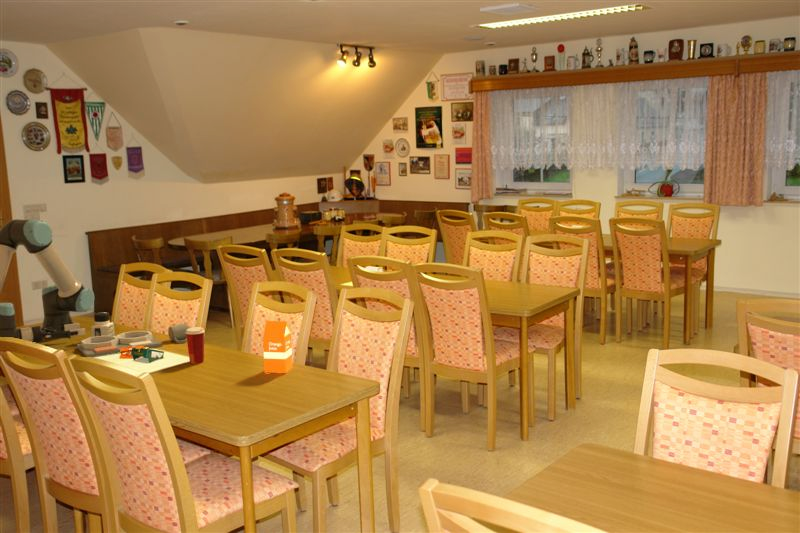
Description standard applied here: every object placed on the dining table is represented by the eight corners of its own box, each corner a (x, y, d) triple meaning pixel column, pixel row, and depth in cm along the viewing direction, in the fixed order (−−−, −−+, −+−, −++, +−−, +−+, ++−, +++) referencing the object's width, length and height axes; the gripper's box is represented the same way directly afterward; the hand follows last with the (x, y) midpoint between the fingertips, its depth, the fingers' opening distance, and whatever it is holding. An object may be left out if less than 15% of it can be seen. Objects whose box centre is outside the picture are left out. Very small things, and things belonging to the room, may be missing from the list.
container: (108, 342, 356) (106, 314, 354) (92, 342, 357) (89, 315, 355) (115, 338, 364) (112, 311, 362) (98, 338, 364) (96, 311, 362)
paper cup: (209, 359, 322) (207, 326, 320) (202, 364, 314) (200, 331, 312) (191, 359, 323) (188, 326, 321) (184, 364, 315) (181, 331, 313)
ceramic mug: (168, 340, 358) (167, 323, 357) (185, 337, 362) (184, 321, 361) (174, 345, 349) (173, 328, 348) (192, 342, 353) (191, 326, 352)
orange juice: (286, 374, 298) (283, 323, 295) (264, 373, 300) (261, 323, 297) (292, 368, 306) (290, 319, 303) (271, 367, 307) (269, 318, 304)
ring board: (77, 347, 348) (76, 339, 347) (148, 337, 365) (148, 328, 364) (87, 358, 329) (86, 348, 329) (162, 346, 346) (161, 337, 346)
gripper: (28, 338, 354) (77, 331, 365) (36, 349, 333) (88, 341, 345) (27, 322, 353) (76, 316, 364) (35, 332, 332) (87, 325, 343)
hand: (82, 328), depth 354 cm, fingers open, 13 cm apart
